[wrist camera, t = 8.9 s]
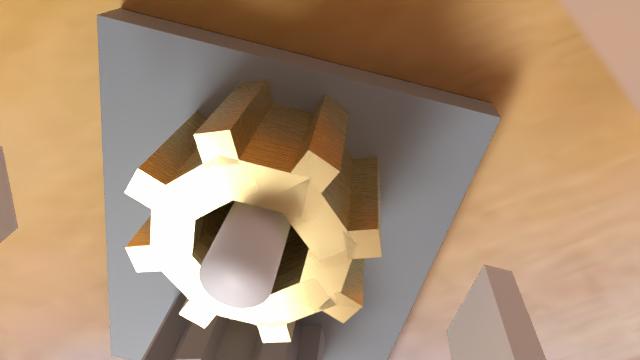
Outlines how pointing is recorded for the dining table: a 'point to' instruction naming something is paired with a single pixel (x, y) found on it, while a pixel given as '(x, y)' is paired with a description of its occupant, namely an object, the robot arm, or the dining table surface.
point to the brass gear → (263, 206)
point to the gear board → (374, 129)
